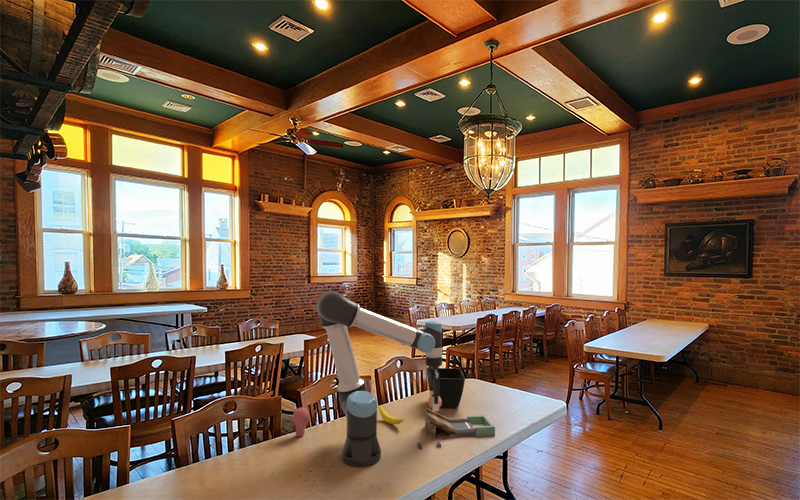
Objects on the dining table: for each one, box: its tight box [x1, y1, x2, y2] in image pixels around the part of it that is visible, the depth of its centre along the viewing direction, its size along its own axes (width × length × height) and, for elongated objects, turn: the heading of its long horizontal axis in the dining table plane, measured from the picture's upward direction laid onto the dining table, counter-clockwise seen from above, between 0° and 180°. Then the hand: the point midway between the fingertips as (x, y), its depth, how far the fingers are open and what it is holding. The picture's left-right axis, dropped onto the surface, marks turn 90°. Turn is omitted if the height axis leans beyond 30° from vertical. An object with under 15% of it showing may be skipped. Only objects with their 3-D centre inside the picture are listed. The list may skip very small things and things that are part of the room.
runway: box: [449, 417, 476, 437], centre depth 175 cm, size 10×12×3 cm
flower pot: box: [425, 367, 466, 409], centre depth 207 cm, size 19×19×17 cm
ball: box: [427, 395, 442, 409], centre depth 174 cm, size 6×6×6 cm
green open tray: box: [466, 414, 496, 437], centre depth 176 cm, size 9×13×4 cm, turn 6°
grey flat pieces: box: [417, 440, 442, 449], centre depth 159 cm, size 9×3×1 cm, turn 96°
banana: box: [378, 404, 405, 425], centre depth 182 cm, size 3×19×6 cm, turn 39°
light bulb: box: [292, 407, 310, 437], centre depth 168 cm, size 7×7×12 cm
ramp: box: [424, 407, 456, 438], centre depth 174 cm, size 12×12×8 cm
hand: (434, 407), depth 174 cm, fingers closed on ball, 6 cm apart
